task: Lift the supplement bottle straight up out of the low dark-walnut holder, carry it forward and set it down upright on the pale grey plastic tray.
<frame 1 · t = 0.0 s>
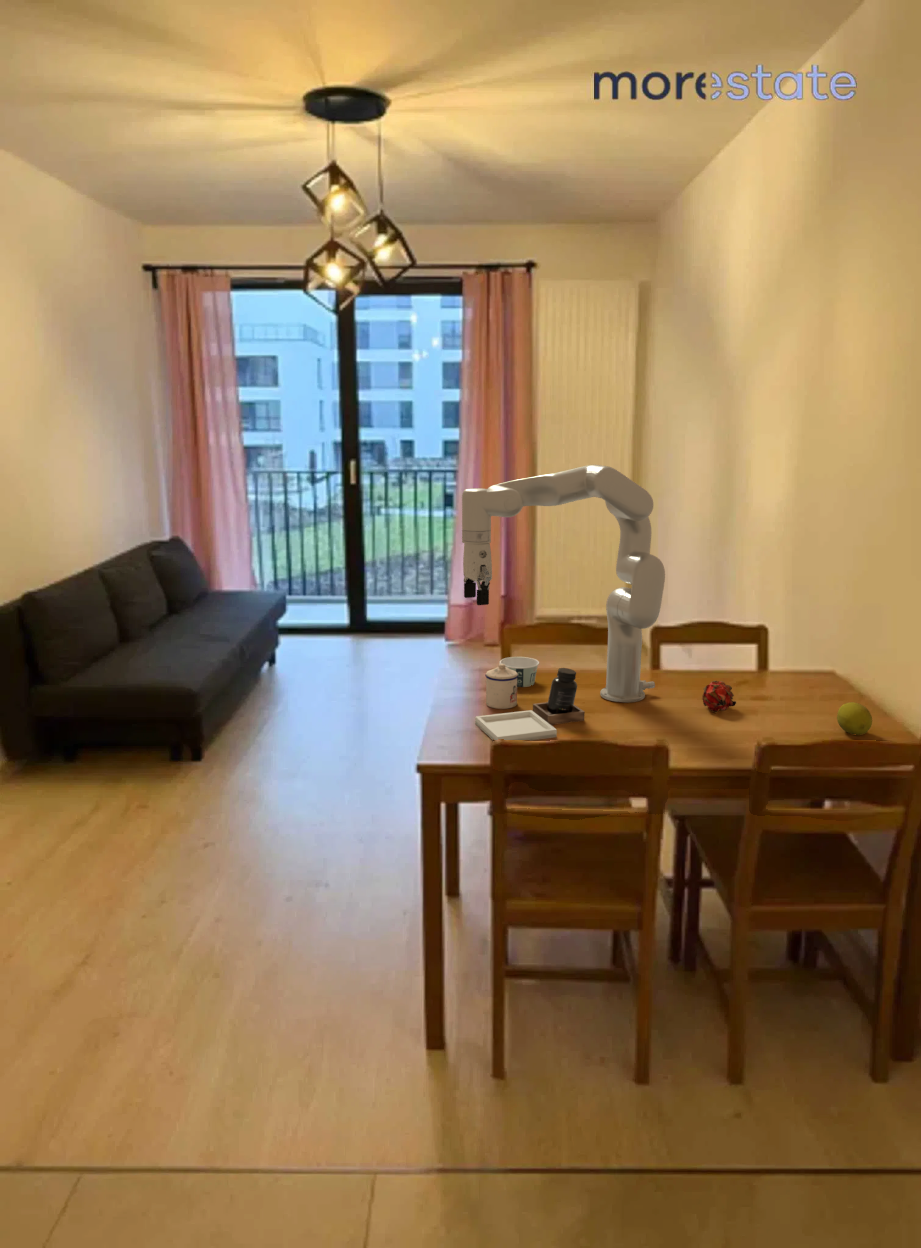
hand: (476, 601, 241), 31 cm above the table, tool pointing down, fingers open, 9 cm apart
holder: (558, 716, 246), on the table
supplement bottle: (558, 713, 245), point 1 cm above the table, touching holder
tray: (515, 730, 235), on the table
food container: (519, 683, 276), on the table
lemon: (852, 733, 234), on the table
teacup with lid: (501, 703, 257), on the table
dragon fruit: (717, 710, 252), on the table
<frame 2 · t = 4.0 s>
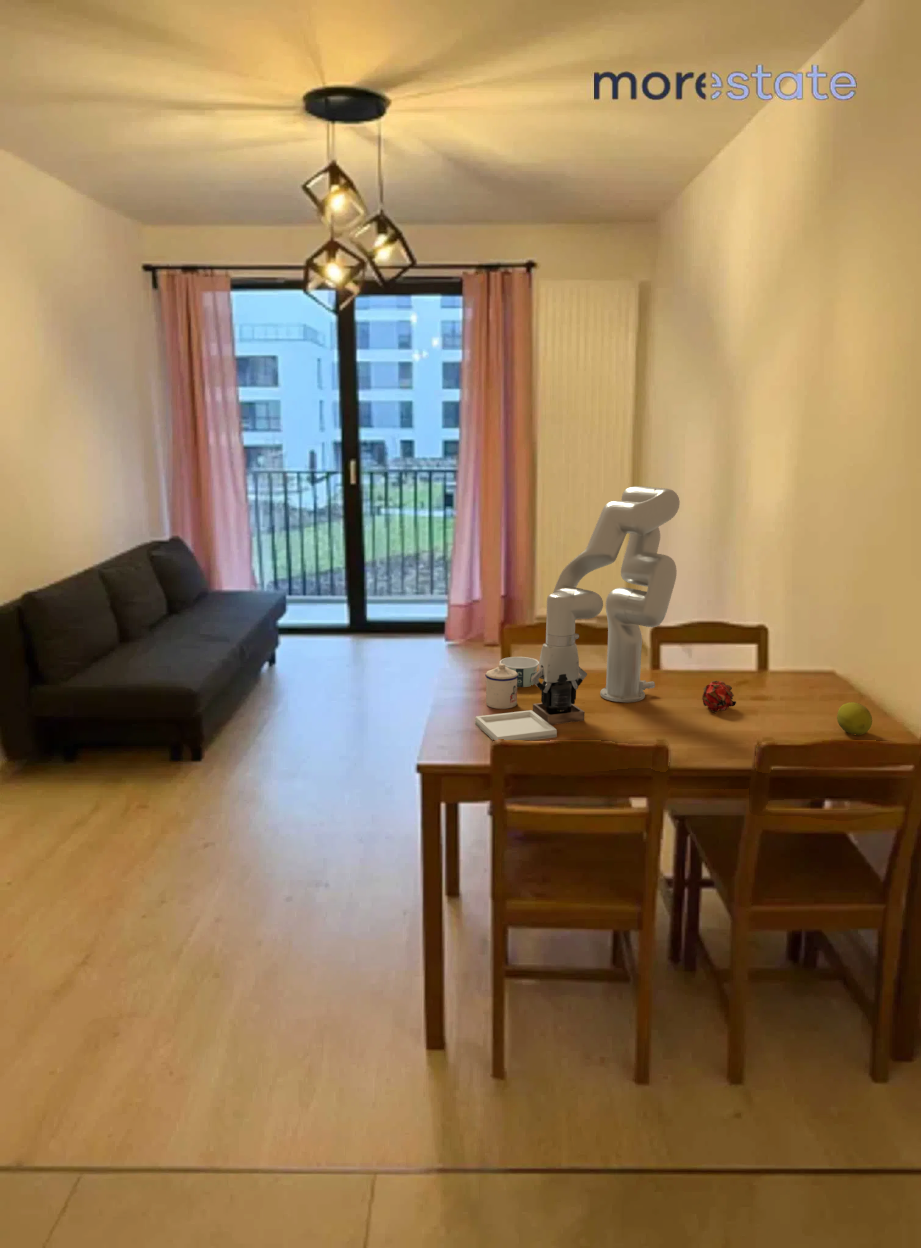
hand: (558, 703, 245), 4 cm above the table, tool pointing down, fingers closed on supplement bottle, 6 cm apart
supplement bottle: (558, 715, 246), resting on holder, touching gripper
everything else where it was.
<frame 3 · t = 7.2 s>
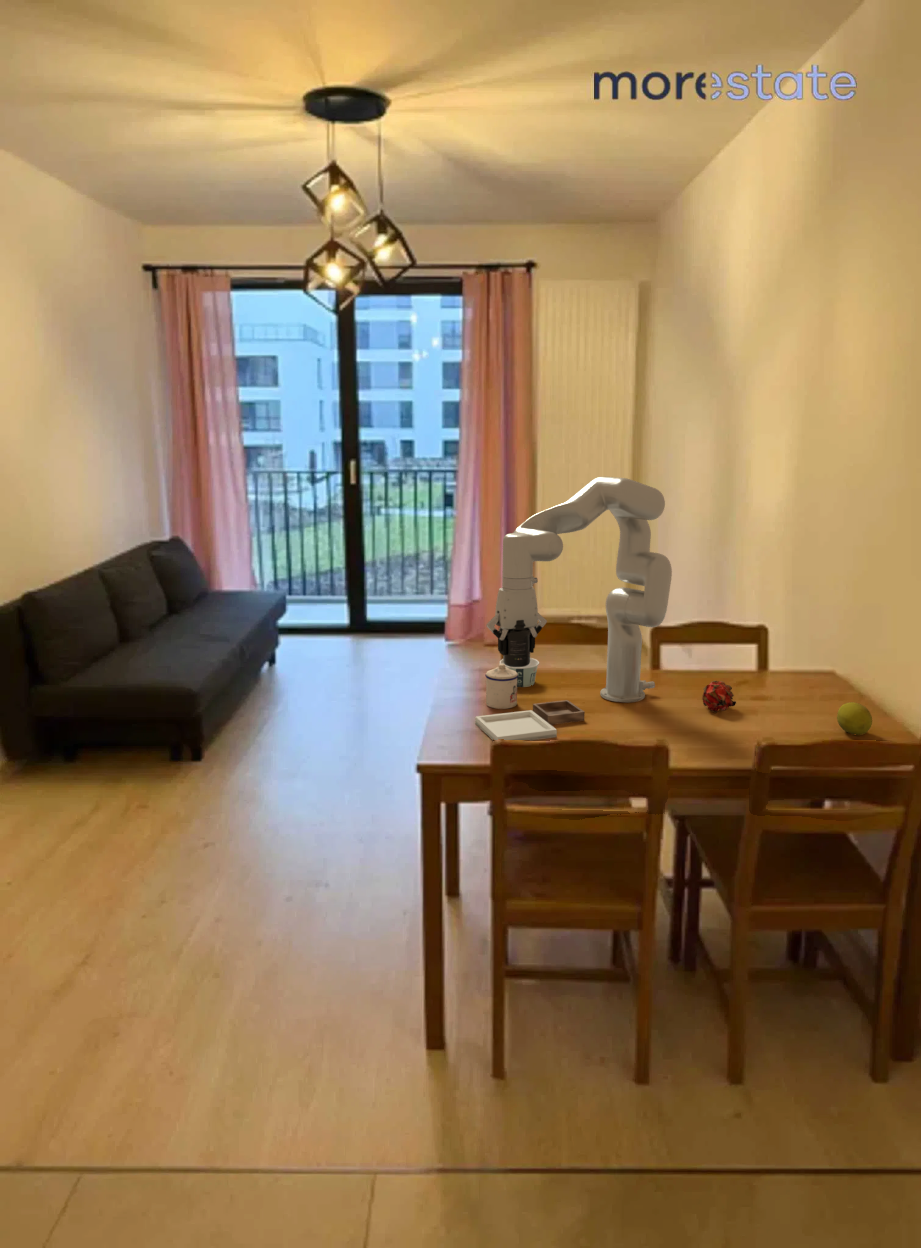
hand: (516, 652, 231), 21 cm above the table, tool pointing down, fingers closed on supplement bottle, 6 cm apart
supplement bottle: (516, 664, 231), point 18 cm above the table, touching gripper
everything else where it was.
when the fingers open (6 cm above the table, at t = 10.3 s): supplement bottle drops 2 cm, resting on tray.
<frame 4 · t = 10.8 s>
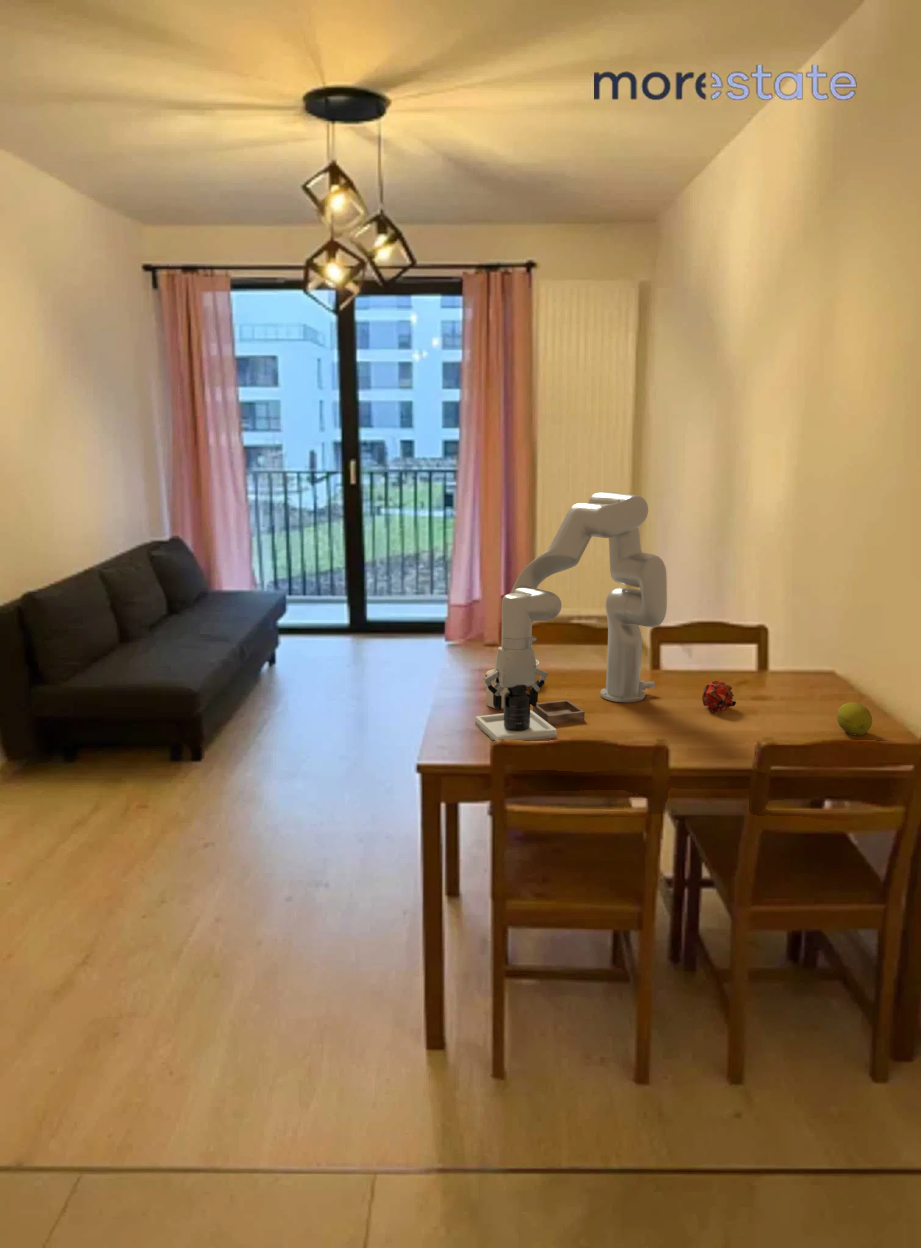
hand: (515, 707, 234), 6 cm above the table, tool pointing down, fingers open, 9 cm apart
supplement bottle: (516, 728, 235), point 1 cm above the table, touching tray
everything else where it was.
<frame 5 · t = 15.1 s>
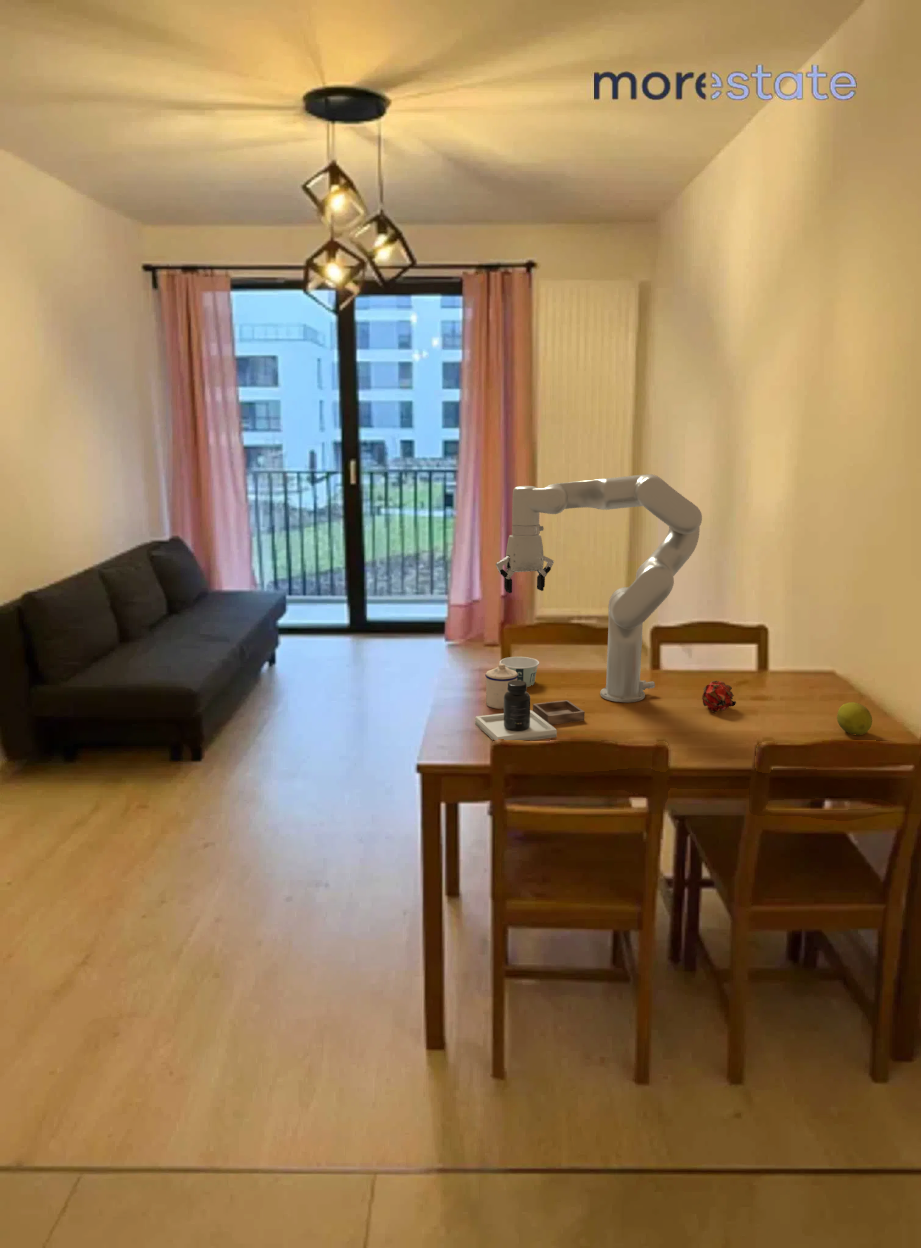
hand: (524, 591, 259), 30 cm above the table, tool pointing down, fingers open, 9 cm apart
nothing on the table moved.
at the end: supplement bottle inside the target area on the tray (0.4 cm from its centre), point 0.6 cm above the tray's base; supplement bottle tilted 0°; the gripper is holding nothing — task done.
